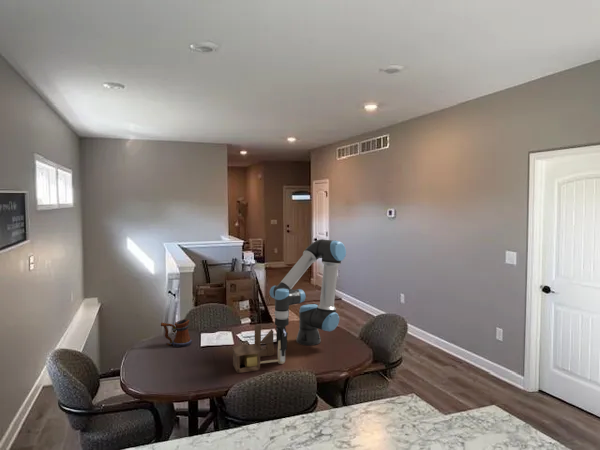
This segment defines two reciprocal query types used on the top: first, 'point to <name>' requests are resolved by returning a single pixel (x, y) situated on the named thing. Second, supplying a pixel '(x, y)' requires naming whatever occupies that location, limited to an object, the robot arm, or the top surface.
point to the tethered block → (252, 361)
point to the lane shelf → (239, 357)
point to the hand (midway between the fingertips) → (281, 359)
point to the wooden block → (264, 341)
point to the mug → (179, 333)
